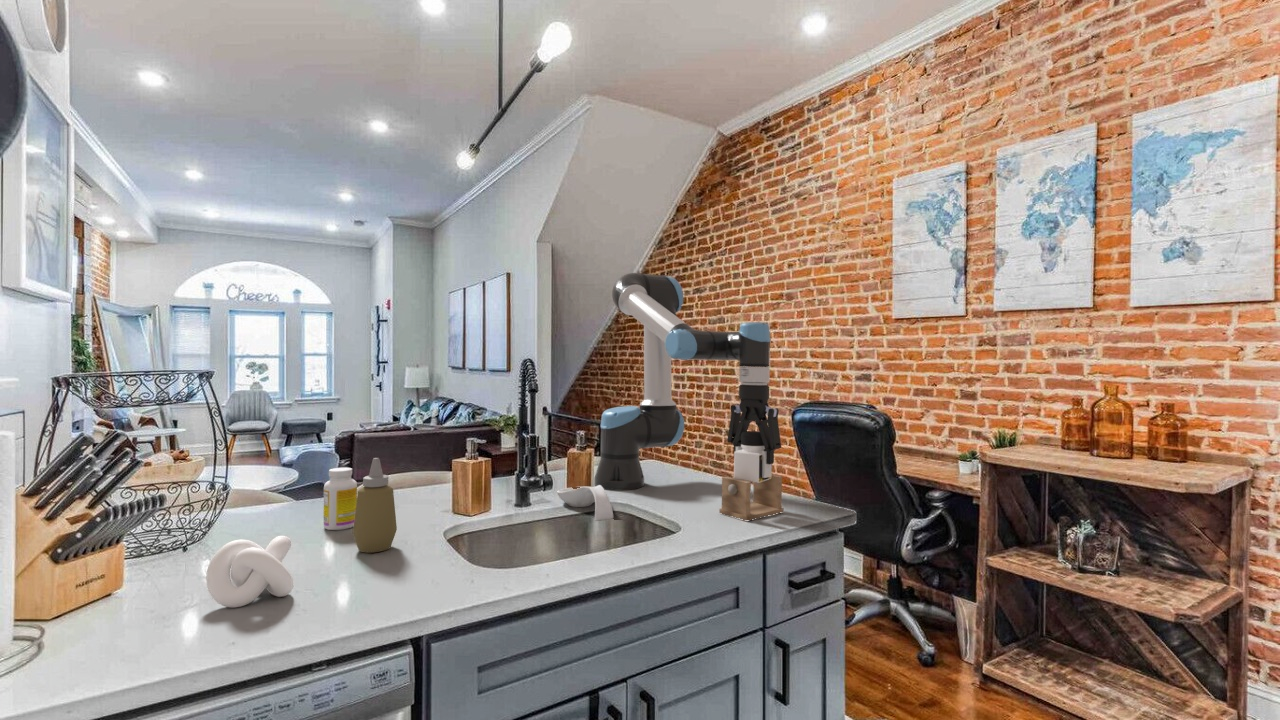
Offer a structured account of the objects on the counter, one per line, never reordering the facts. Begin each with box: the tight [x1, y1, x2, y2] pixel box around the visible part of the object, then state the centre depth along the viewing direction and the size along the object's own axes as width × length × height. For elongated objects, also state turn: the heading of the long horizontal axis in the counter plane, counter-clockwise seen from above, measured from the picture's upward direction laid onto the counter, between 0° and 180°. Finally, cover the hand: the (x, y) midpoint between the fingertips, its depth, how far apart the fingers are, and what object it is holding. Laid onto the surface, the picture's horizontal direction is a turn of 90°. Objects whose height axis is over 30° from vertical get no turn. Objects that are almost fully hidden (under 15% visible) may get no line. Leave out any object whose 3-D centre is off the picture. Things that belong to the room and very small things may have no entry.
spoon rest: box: [556, 485, 614, 522], centre depth 152 cm, size 24×12×7 cm, turn 26°
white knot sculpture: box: [205, 535, 294, 609], centre depth 95 cm, size 11×12×9 cm
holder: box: [718, 474, 785, 521], centre depth 150 cm, size 9×15×9 cm, turn 129°
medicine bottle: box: [733, 430, 772, 483], centre depth 150 cm, size 7×7×12 cm
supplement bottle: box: [323, 467, 358, 531], centre depth 133 cm, size 7×7×13 cm
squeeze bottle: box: [352, 457, 398, 553], centre depth 118 cm, size 8×8×18 cm
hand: (753, 474), depth 150 cm, fingers closed on medicine bottle, 8 cm apart
